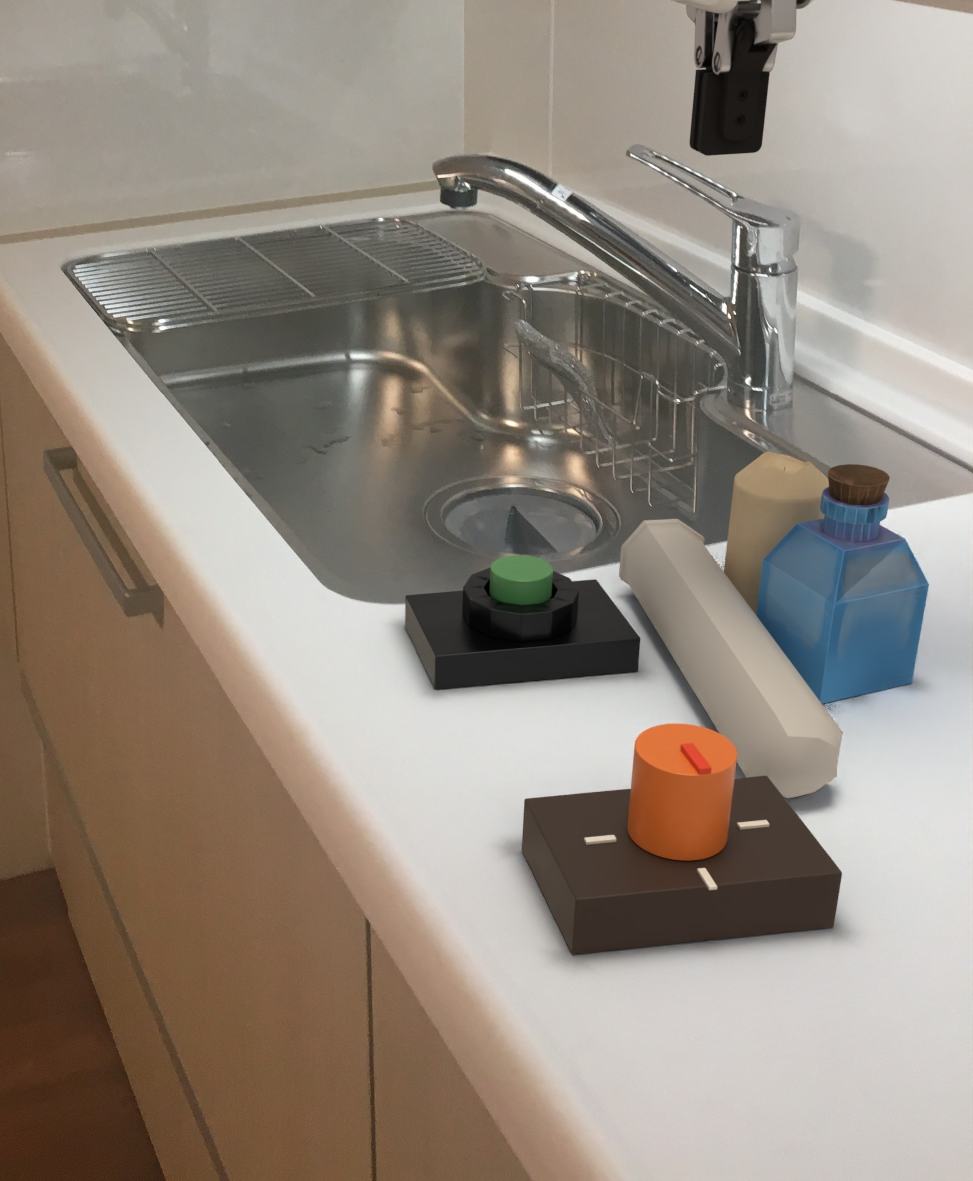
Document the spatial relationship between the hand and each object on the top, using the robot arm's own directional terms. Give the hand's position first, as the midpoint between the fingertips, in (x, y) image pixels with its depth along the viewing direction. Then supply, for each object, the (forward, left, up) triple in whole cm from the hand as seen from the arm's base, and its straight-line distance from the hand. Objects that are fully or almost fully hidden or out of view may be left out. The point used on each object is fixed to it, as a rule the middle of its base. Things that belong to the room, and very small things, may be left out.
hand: (724, 150), depth 83 cm
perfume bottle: (-8, +4, -29) cm, 31 cm away
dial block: (+8, +22, -29) cm, 37 cm away
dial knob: (+9, +22, -26) cm, 35 cm away
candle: (-7, -4, -29) cm, 30 cm away
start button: (+9, -2, -25) cm, 27 cm away
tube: (-1, +5, -29) cm, 30 cm away
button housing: (+9, -2, -29) cm, 31 cm away
